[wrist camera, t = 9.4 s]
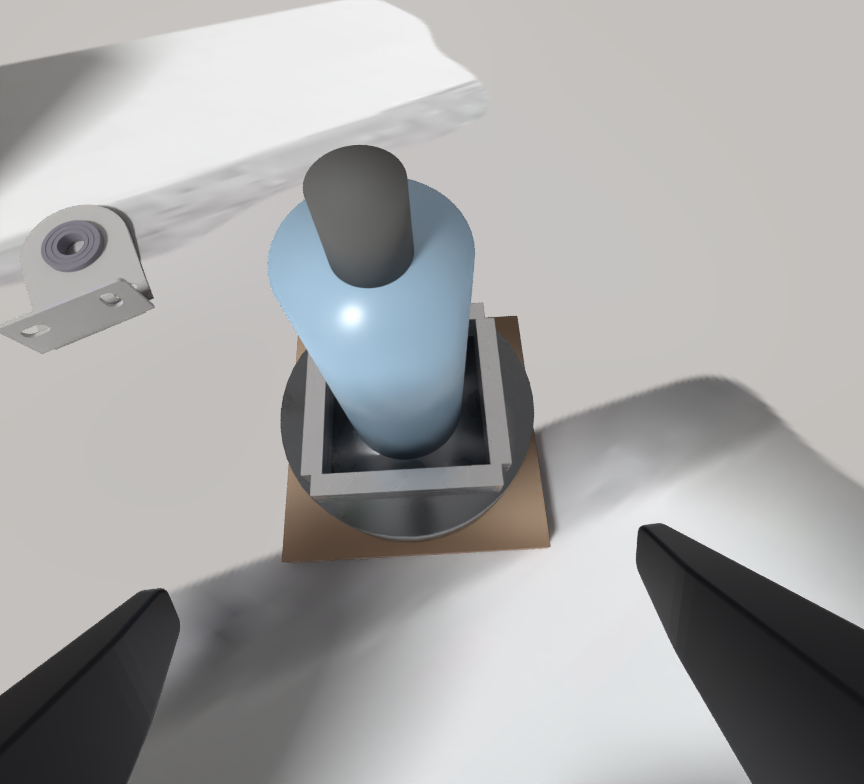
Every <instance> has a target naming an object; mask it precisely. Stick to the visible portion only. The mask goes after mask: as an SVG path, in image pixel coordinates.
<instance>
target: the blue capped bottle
mask: <svg viewBox="0 0 864 784" xmlns="http://www.w3.org/2000/svg"><path fill="white" fill-rule="evenodd" d="M303 193H304V197H305V200H304V201H302V202H301V203H299V204H298V205H297V206H296V207H295V208H294V209H293V210H292V211H291V212H290V213H289V214H288V215H287V217H286V218H285V219H284V220H283V222H282V223H281V225H280V227H279V228H278V230H277V231H276V234H275V236H274V238H273V240H272V243H271V247H270V250H269V256H268V276H269V281H270V285H271V288H272V291H273V293H274V296H275V297H276V299H277V301H278V302H279V304H280V306H281V307H282V309H283V311H284V312H285V314H286V316H287V317H288V319H289V321H290V322H291V324H292V326H293V327H294V329H295V331H296V332H297V334H298V336H299V337H300V339H301V341H302V342H303V344H304V346H305V347H306V349H307V351H308V352H309V354H310V356H311V357H312V359H313V361H314V362H315V364H316V365H317V367H318V369H319V370H320V372H321V374H322V375H323V377H324V379H325V380H326V382H327V384H328V385H329V387H330V389H331V390H332V392H333V394H334V395H335V397H336V399H337V400H338V402H339V404H340V405H341V407H342V409H343V410H344V412H345V414H346V415H347V417H348V419H349V420H350V422H351V423H352V425H353V427H354V428H355V430H356V432H357V433H358V435H359V437H360V438H361V439H362V441H363V442H364V443H365V444H366V445H367V446H368V447H369V448H371V449H372V450H374V451H375V452H377V453H379V454H381V455H383V456H386V457H389V458H393V459H402V460H406V459H415V458H420V457H423V456H426V455H428V454H431V453H433V452H434V451H436V450H437V449H439V448H440V447H441V446H443V445H444V444H445V443H446V442H447V441H448V440H449V439H450V437H451V436H452V434H453V433H454V431H455V429H456V428H457V425H458V422H459V420H460V415H461V406H462V395H463V384H464V372H465V361H466V350H467V339H468V327H469V316H470V305H471V294H472V293H471V292H472V282H473V271H474V258H475V248H474V240H473V236H472V232H471V230H470V227H469V225H468V223H467V221H466V219H465V218H464V216H463V215H462V213H461V212H460V210H459V209H458V208H457V207H456V206H455V205H454V204H453V203H452V202H451V201H450V200H449V199H448V198H447V197H445V196H444V195H442V194H441V193H439V192H438V191H437V190H435V189H433V188H431V187H429V186H427V185H424V184H422V183H419V182H416V181H413V180H410V179H407V174H406V171H405V168H404V166H403V165H402V163H401V162H400V161H399V159H398V158H396V157H395V156H394V155H393V154H391V153H390V152H388V151H386V150H384V149H381V148H378V147H374V146H368V145H352V146H346V147H342V148H338V149H336V150H333V151H331V152H329V153H327V154H325V155H323V156H322V157H321V158H319V159H318V160H317V161H316V162H315V163H314V164H313V165H312V166H311V167H310V169H309V170H308V172H307V174H306V176H305V178H304V182H303Z"/></svg>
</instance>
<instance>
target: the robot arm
mask: <svg viewBox="0 0 864 784" xmlns="http://www.w3.org/2000/svg"><path fill="white" fill-rule="evenodd" d="M636 565H637V569H638V572H639V574H640V576H641V579H642V581H643V583H644V585H645V587H646V590H647V592H648V594H649V596H650V598H651V600H652V603H653V605H654V607H655V609H656V611H657V614H658V616H659V618H660V620H661V622H662V624H663V627H664V629H665V631H666V633H667V635H668V638H669V640H670V642H671V644H672V646H673V648H674V650H675V652H676V653H677V655H678V657H679V659H680V661H681V663H682V664H683V666H684V668H685V669H686V671H687V673H688V675H689V676H690V678H691V680H692V681H693V683H694V685H695V687H696V688H697V690H698V692H699V693H700V695H701V697H702V699H703V700H704V702H705V704H706V705H707V707H708V709H709V711H710V712H711V714H712V716H713V717H714V719H715V721H716V723H717V724H718V726H719V728H720V729H721V731H722V733H723V735H724V736H725V738H726V740H727V741H728V743H729V745H730V747H731V748H732V750H733V752H734V753H735V755H736V757H737V759H738V760H739V762H740V764H741V765H742V767H743V769H744V770H745V772H746V774H747V776H748V777H749V779H750V781H751V782H752V784H864V629H862V628H860V627H858V626H857V625H855V624H853V623H851V622H849V621H847V620H845V619H843V618H841V617H839V616H838V615H836V614H834V613H832V612H830V611H828V610H826V609H824V608H822V607H820V606H819V605H817V604H815V603H813V602H811V601H809V600H807V599H805V598H803V597H801V596H800V595H798V594H796V593H794V592H792V591H790V590H788V589H786V588H784V587H782V586H781V585H779V584H777V583H775V582H773V581H771V580H769V579H767V578H765V577H764V576H762V575H760V574H758V573H756V572H754V571H752V570H750V569H748V568H746V567H745V566H743V565H741V564H739V563H737V562H735V561H733V560H731V559H729V558H727V557H726V556H724V555H722V554H720V553H718V552H716V551H714V550H712V549H710V548H708V547H707V546H705V545H703V544H701V543H699V542H697V541H695V540H693V539H691V538H689V537H688V536H686V535H684V534H682V533H680V532H678V531H676V530H674V529H672V528H670V527H669V526H667V525H664V524H662V523H656V524H648V525H643V526H641V527H640V528H639V530H638V537H637V550H636ZM179 631H180V621H179V618H178V615H177V613H176V610H175V608H174V606H173V603H172V601H171V599H170V596H169V594H168V592H167V591H166V590H165V589H162V588H157V589H150V590H144V591H140V592H138V593H137V594H135V595H134V596H133V597H131V598H130V599H129V600H127V601H126V602H125V603H123V604H122V605H121V606H119V607H118V608H116V609H115V610H114V611H113V612H111V613H110V614H109V615H107V616H106V617H105V618H103V619H102V620H100V621H99V622H98V623H97V624H95V625H94V626H92V627H91V628H90V629H88V630H87V631H86V632H84V633H83V634H82V635H80V636H79V637H78V638H76V639H75V640H74V641H72V642H71V643H70V644H68V645H67V646H66V647H64V648H63V649H62V650H60V651H59V652H58V653H56V654H55V655H54V656H52V657H51V658H50V659H48V660H47V661H46V662H44V663H43V664H42V665H40V666H39V667H38V668H36V669H35V670H34V671H32V672H31V673H30V674H28V675H27V676H26V677H25V678H23V679H22V680H20V681H19V682H17V683H16V684H15V685H13V686H12V687H11V688H9V689H8V690H7V691H6V692H4V693H3V694H1V695H0V784H127V783H128V780H129V778H130V775H131V773H132V771H133V768H134V766H135V763H136V761H137V758H138V756H139V753H140V751H141V748H142V746H143V743H144V741H145V738H146V736H147V733H148V731H149V728H150V725H151V723H152V720H153V717H154V714H155V711H156V708H157V705H158V702H159V698H160V695H161V692H162V688H163V685H164V682H165V678H166V675H167V672H168V669H169V665H170V662H171V659H172V655H173V652H174V649H175V645H176V642H177V639H178V636H179Z"/></svg>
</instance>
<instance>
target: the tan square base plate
mask: <svg viewBox="0 0 864 784" xmlns="http://www.w3.org/2000/svg"><path fill="white" fill-rule="evenodd" d="M533 422H534V406H533V396H532V391H531V387H530V382H529V379H528V377H527V374H526V371H525V367H524V360H523V353H522V346H521V339H520V332H519V325H518V318H517V316H506V317H490V318H489V317H488V318H485V315H484V306H483V303H471V305H470V316H469V327H468V339H467V350H466V361H465V372H464V384H463V395H462V406H461V415H460V420H459V422H458V425H457V428H456V429H455V431H454V433H453V434H452V436H451V437H450V439H449V440H448V441H447V442H446V443H445V444H444V445H443V446H441V447H440V448H439V449H437V450H436V451H434V452H433V453H431V454H428V455H426V456H423V457H420V458H415V459H406V460H402V459H393V458H389V457H386V456H383V455H381V454H379V453H377V452H375V451H374V450H372V449H371V448H369V447H368V446H367V445H366V444H365V443H364V442H363V441H362V439H361V438H360V437H359V435H358V433H357V432H356V430H355V428H354V427H353V425H352V423H351V422H350V420H349V419H348V417H347V415H346V414H345V412H344V410H343V409H342V407H341V405H340V404H339V402H338V400H337V399H336V397H335V395H334V394H333V392H332V390H331V389H330V387H329V385H328V384H327V382H326V380H325V379H324V377H323V375H322V374H321V372H320V370H319V369H318V367H317V365H316V364H315V362H314V361H313V359H312V357H311V356H310V354H309V352H308V351H307V349H306V347H305V346H304V344H303V342H302V341H301V339H300V337H299V336H298V342H297V356H296V365H295V367H294V368H293V371H292V373H291V375H290V377H289V380H288V382H287V386H286V389H285V392H284V396H283V402H282V408H281V434H282V442H283V446H284V450H285V453H286V457H287V460H288V462H289V469H288V482H287V497H286V511H285V525H284V539H283V552H282V562H287V563H294V562H312V561H329V560H347V559H365V558H383V557H400V556H418V555H436V554H453V553H471V552H489V551H506V550H524V549H542V548H548V547H551V546H550V539H549V532H548V525H547V518H546V511H545V504H544V497H543V491H542V484H541V477H540V470H539V463H538V456H537V449H536V442H535V435H534V429H533Z"/></svg>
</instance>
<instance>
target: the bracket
mask: <svg viewBox="0 0 864 784" xmlns="http://www.w3.org/2000/svg"><path fill="white" fill-rule="evenodd" d="M78 241H84V245H83V247H82V248H81V249H80V250H79V251H78V252H77V253H75V254H72V255H66V251H67V249H68V247H69V246H70V245H72V244H73V243H75V242H78ZM20 263H21V269H22V272H23V276H24V280H25V284H26V287H27V291H28V295H29V298H30V302H31V306H32V309H33V311H32V312H30V313H27V314H25V315H22V316H19V317H17V318H14V319H12V320H9V321H7V322H4V323H2V324H0V333H1V334H2V335H4V336H6V337H9V338H11V339H13V340H15V341H17V342H19V343H21V344H23V345H25V346H27V347H29V348H31V349H33V350H35V351H37V352H39V353H41V354H44V353H46V352H49V351H51V350H54V349H55V350H57V349H59V348H61V347H64V346H66V345H69V344H71V343H74V342H76V341H78V340H81V339H83V338H86V337H88V336H91V335H93V334H95V333H98V332H100V331H103V330H105V329H108V328H110V327H112V326H115V325H117V324H120V323H122V322H124V321H127V320H129V319H132V318H134V317H136V316H139V315H141V314H144V313H146V311H148V310H151V309H153V308H154V305H153V304H152V303H151V302H150V301H149V300H151V299H154V297H153V294H152V292H151V289H150V286H149V283H148V281H147V278H146V275H145V273H144V270H143V267H142V264H141V261H139V257H138V254H137V251H136V248H135V245H134V242H133V240H132V237H131V234H130V231H129V229H128V227H127V225H126V224H125V222H124V221H123V220H122V219H121V218H120V217H119V216H118V215H117V214H116V213H114V212H113V211H111V210H109V209H107V208H104V207H101V206H96V205H78V206H72V207H69V208H65V209H63V210H60V211H58V212H56V213H53V214H52V215H50V216H48V217H47V218H45V219H44V220H43V221H41V222H40V223H39V224H38V225H37V226H36V227H35V228H34V229H33V230H32V231H31V232H30V234H29V235H28V237H27V238H26V240H25V242H24V244H23V247H22V250H21V256H20ZM134 284H135V285H137V289H135V288H134V287H133V286H132V285H134ZM116 295H117V296H118V297H119V298H117V297H116ZM35 325H37V328H38V332H37V333H34V334H25V333H22V331H23V330H25V329H27V328H30V327H32V326H35Z"/></svg>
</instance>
